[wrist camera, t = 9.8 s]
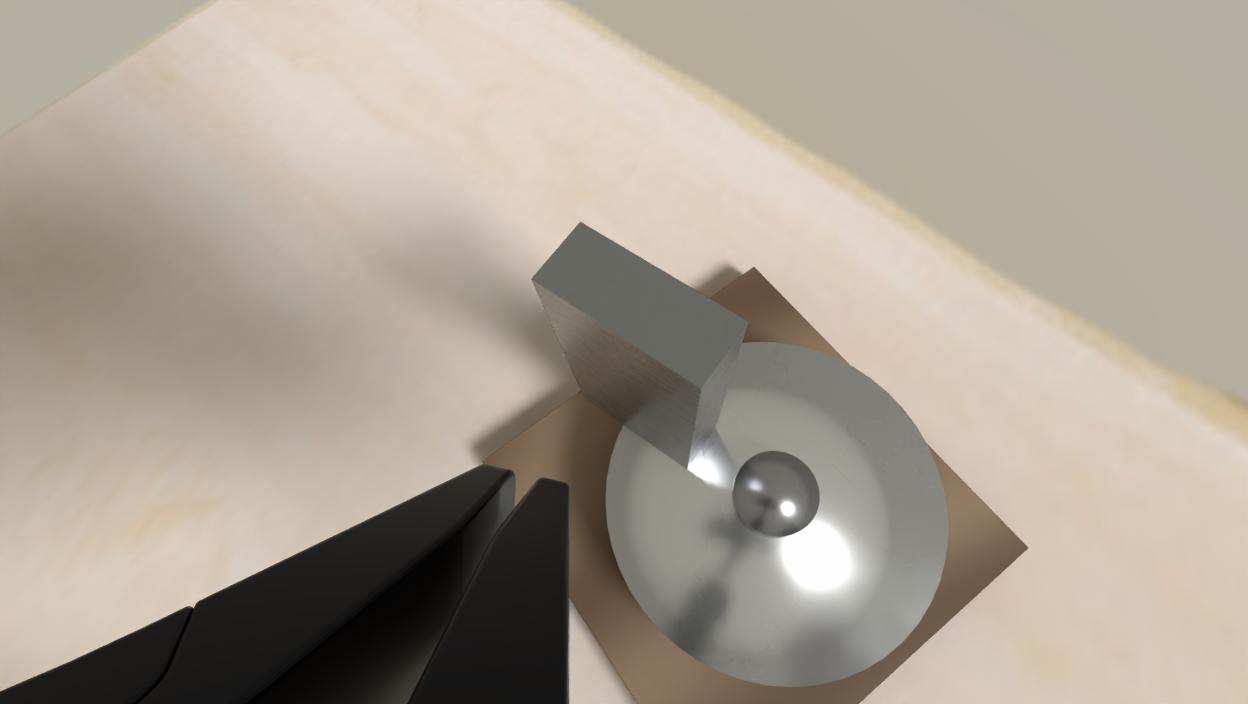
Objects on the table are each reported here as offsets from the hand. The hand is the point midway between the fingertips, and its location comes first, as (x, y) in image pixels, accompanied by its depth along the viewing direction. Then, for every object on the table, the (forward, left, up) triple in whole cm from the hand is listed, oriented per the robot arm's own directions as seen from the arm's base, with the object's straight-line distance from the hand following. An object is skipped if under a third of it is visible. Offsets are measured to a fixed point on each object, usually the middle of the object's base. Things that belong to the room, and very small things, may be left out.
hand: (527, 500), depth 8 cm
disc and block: (-1, -5, -12) cm, 13 cm away
